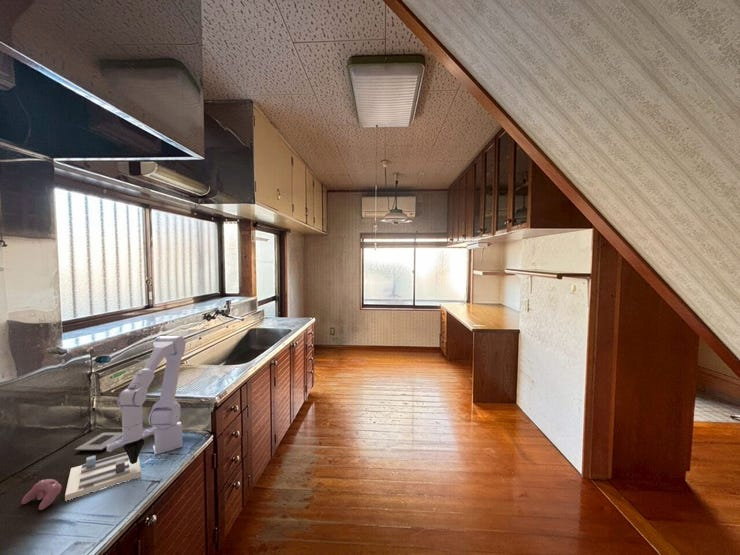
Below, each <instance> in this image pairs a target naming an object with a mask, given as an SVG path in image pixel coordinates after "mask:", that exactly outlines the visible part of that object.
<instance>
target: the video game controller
mask: <svg viewBox="0 0 740 555" xmlns="http://www.w3.org/2000/svg"><path fill="white" fill-rule="evenodd" d="M61 490H62V484H61V483H59V482H58V481H57V480H56V479H54V478H53V479H52V478H46V479H42V480H38V482H37V483H35V484H34V485H33V486H32V488H31V489H30V490H29V491H28V492H27V493H26V494H25V495H24V496H23V498H22V500H21V504H22V505H25V504H27V503H30V502H31V501H32V500H34V499H35V497H36V498H37V500H38V501H41V502H40V504H39V505H38V510H40V511H43V510H45V509H46V508H48V507H49V506H50V505H51V504H52V503H53V502H54V500H55V499H56V498H57V496H59V494H60V493H61Z"/></svg>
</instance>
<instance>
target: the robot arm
mask: <svg viewBox="0 0 740 555" xmlns="http://www.w3.org/2000/svg"><path fill="white" fill-rule="evenodd" d="M186 343H187V342H186V340H185V337H184V336H182V335H177V336H175V335H174V336H173V335H171V336H167V335H166V336H161V335H160V336H157V337H156V338H155V339H154V341H153V343H152V352H151V354H150V356H149V358H148V360H147V361H146V364H145V366H144V367H143V368H142V369H140V370H138V371H137V372H136V373H135V376H134V377H133V379H132V380H131V382H130V384H129V385H128V386H127V388H125V389H123V390H122V391H121V392H120V393H119V394H118V397H117V400H116V404H117V406H119V411H120V412H121V423H122V425H121V427H122V429H121V430H122V432H121V433H122V434H123V437H121V438H120V439H118V440H116V441H114V442H112V443H110V444H108V445H106V446H107V447H106V452H108V453H111V452H113V450H116V449H119V448H121V447H122V448H123V450H124V452H125V453H127V455H128V457H129V461H130V463H131V464H134V463H137V460H138V456H140V453H141V451H142V448H143V446H144V444H145V440H144V438H147V437H150V436H151V435H154V444H153V446H152V449H153V453H154V455H160V454H163V453H165V452H169V451H172V450H177V449H179V448H182V447H184V445H183V444H184V443H183V439H184V437H183V425H182V422H181V421H180V419H181V404H180V403H179V402H178V401H177V400H176V393H177V388H178V382H179V381H178V380H179V374H180V369H181V365H182V364H181V363H182V358H183V357H184V356H185V350H186ZM164 358H165V360H166V363H165V368H164V372H163V380H162V383H161V384H162V385H161V390H160V396H159V400H158V401H157V402H155V403H154V404H152V407H151V409H150V410H151V411H150V413H149V415H148V419H147V420H148V423H149V425H150V426H152V427H151V428H147V429H144V426H143V422H144V421H143V418H144V417H143V404H144V403H145V402H146V400H147V396H148V395H147V394H148V391H149V390H148V389H149V388H150V385H151V383H152V382H153V380H154V378H155V376H156V375H155V373H154V372H155V371H156V370H157V368H158V367H159V365H160V364H161V362H163V360H164Z"/></svg>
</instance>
